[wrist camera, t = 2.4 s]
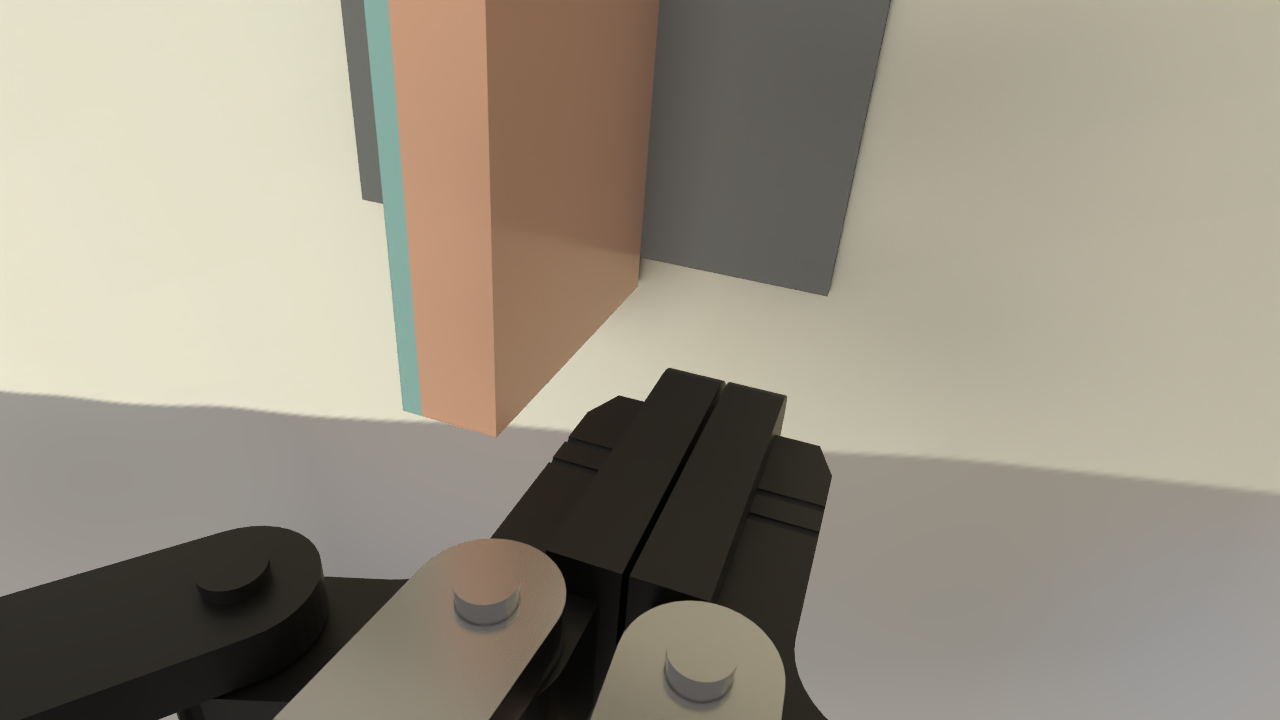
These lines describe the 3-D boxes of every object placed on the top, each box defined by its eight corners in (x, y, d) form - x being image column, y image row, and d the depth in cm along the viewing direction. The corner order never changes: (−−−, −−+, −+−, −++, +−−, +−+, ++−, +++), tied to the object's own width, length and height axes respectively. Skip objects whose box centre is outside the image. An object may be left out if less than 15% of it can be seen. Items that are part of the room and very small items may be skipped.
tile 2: (662, -31, 20) (484, -13, 13) (637, 286, 25) (496, 437, 17) (577, -40, 21) (360, -27, 13) (568, 271, 25) (403, 410, 18)
